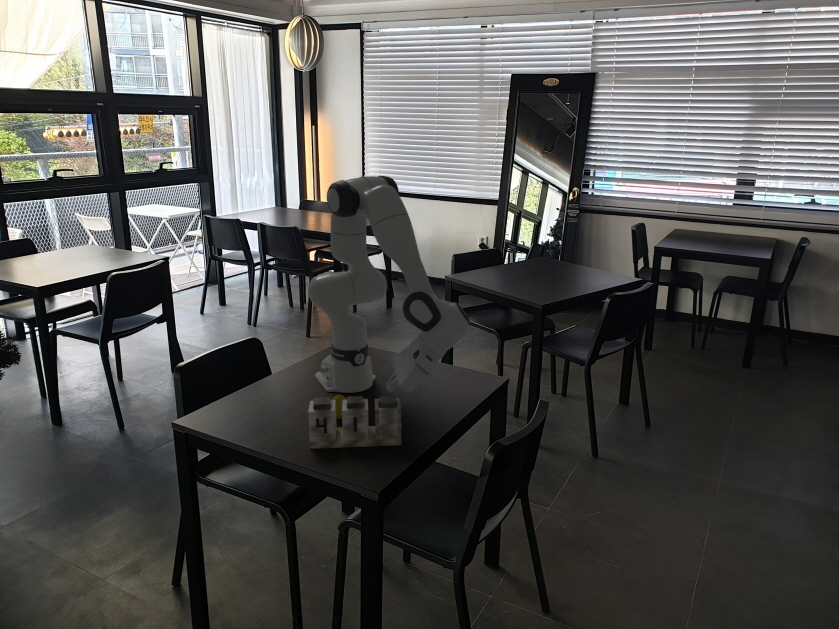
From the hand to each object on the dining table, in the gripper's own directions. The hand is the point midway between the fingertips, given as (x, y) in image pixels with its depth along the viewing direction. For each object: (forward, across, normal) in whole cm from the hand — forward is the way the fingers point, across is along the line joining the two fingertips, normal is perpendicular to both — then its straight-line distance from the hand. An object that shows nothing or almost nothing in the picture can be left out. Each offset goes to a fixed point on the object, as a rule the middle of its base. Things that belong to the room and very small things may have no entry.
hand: (387, 388), depth 177 cm
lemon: (+20, -14, +1) cm, 24 cm away
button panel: (+17, 0, +4) cm, 18 cm away
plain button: (+7, 0, +7) cm, 10 cm away
